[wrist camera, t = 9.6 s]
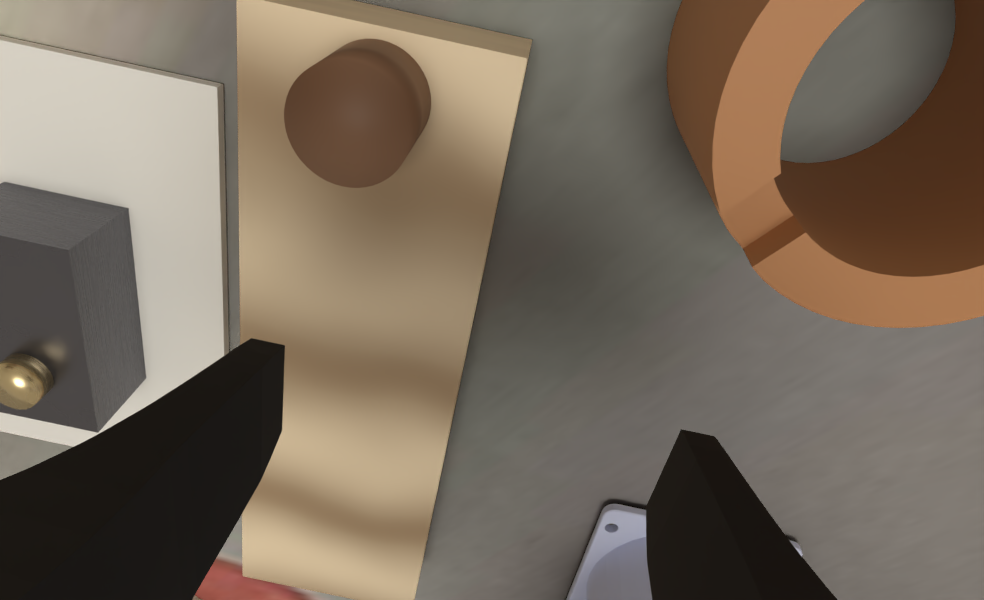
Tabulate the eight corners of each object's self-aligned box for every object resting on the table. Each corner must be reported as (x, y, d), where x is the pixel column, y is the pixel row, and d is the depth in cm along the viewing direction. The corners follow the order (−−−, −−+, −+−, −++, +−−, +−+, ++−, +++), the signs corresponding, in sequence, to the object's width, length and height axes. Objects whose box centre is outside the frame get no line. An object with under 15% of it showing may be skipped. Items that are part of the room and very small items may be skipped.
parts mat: (231, 471, 28) (227, 478, 27) (-8, 421, 28) (-15, 428, 27) (223, 84, 19) (216, 87, 19) (-119, 9, 19) (-131, 11, 19)
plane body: (423, 559, 29) (398, 671, 25) (266, 526, 29) (214, 634, 25) (532, 39, 18) (521, 82, 14) (276, -17, 18) (184, 8, 14)
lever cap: (146, 378, 25) (83, 449, 22) (40, 355, 25) (-39, 423, 22) (128, 208, 21) (49, 263, 18) (4, 181, 21) (-97, 232, 18)
